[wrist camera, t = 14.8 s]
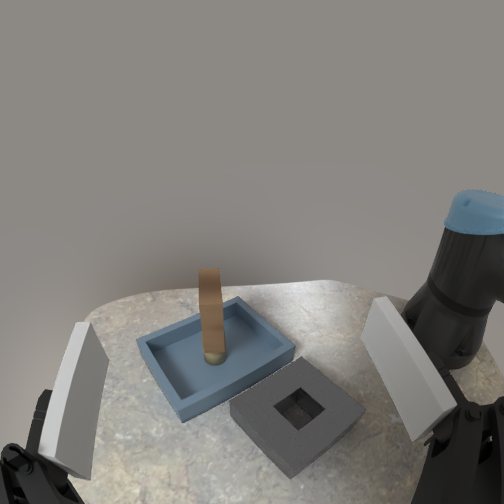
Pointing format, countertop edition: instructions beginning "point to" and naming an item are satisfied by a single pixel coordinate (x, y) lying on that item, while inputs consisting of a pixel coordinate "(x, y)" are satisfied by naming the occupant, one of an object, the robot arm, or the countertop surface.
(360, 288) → the countertop surface
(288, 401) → the socket block
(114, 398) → the countertop surface
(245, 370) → the tray
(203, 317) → the key
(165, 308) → the countertop surface
